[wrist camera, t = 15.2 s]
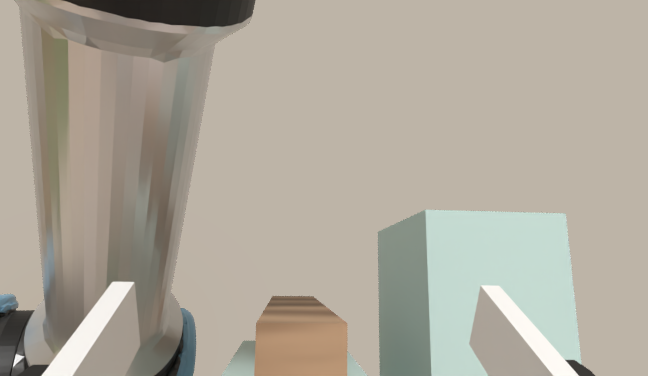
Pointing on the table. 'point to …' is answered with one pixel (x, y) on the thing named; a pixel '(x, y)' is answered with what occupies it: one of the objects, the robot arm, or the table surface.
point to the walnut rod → (300, 339)
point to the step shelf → (461, 288)
